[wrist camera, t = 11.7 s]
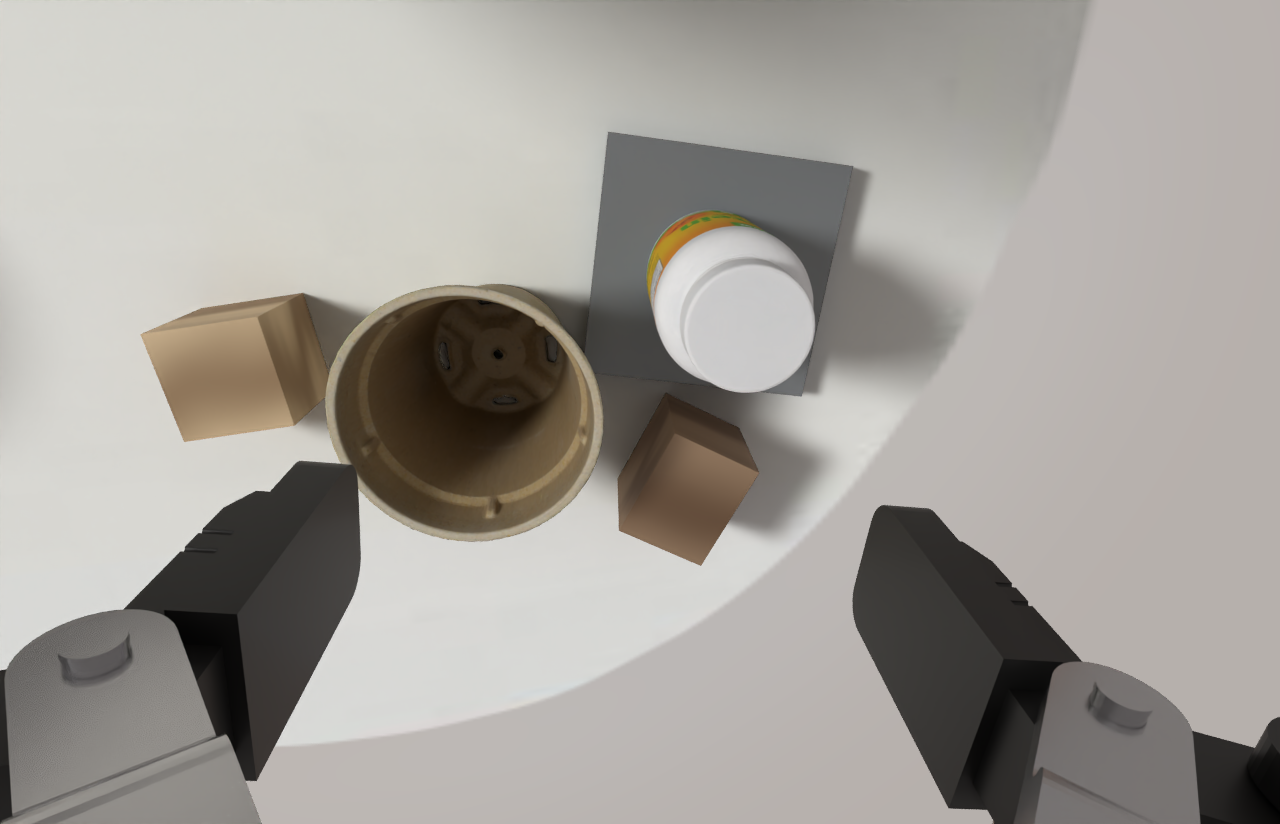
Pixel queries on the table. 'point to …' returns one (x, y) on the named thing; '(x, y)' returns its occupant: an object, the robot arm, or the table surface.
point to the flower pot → (465, 412)
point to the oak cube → (239, 366)
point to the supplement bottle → (730, 301)
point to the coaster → (672, 188)
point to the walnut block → (684, 480)
